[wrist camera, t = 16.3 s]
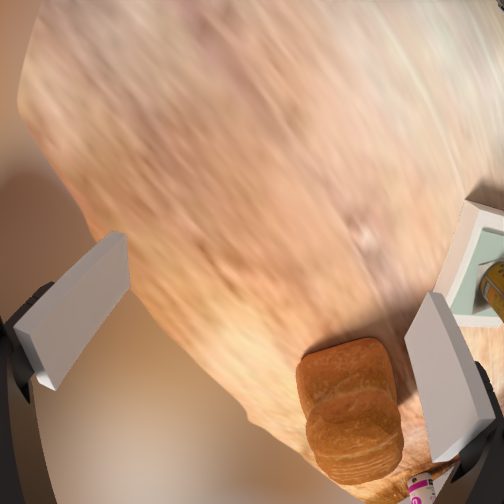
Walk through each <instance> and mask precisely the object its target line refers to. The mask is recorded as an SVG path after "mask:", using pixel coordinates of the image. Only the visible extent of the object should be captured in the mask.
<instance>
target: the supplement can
mask: <svg viewBox="0 0 504 504" xmlns="http://www.w3.org/2000/svg"><path fill="white" fill-rule="evenodd" d="M408 487H409V493H410V498H411V504H433V502H434V500H435V499H436V496H435V491H434V487H433V482H432V478H431V474H429V473H421V474H418V475H415V476H413V477H412V478H410V479H409V481H408Z"/></svg>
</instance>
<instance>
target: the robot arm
mask: <svg viewBox="0 0 504 504" xmlns="http://www.w3.org/2000/svg"><path fill="white" fill-rule="evenodd" d="M496 1H497V3H498V6H499V7H500V9H501V10H502V11H503V13H504V0H496ZM129 287H130V276H129V264H128V252H127V236H126V234H124V233H119V232H114V231H111V232H110V233H109V234H108V235H107V236H105V237H104V238H103V239H102V240H101V241H100V242H99V243H98V244H96V246H94V247H93V248H92V249H91V250H90V251H89V252H88V253H86V254H85V255H84V256H83V257H82V258H81V259H80V260H79V261H78V262H77V263H76V264H75V265H74V266H72V267H71V268H70V269H69V270H68V271H67V272H66V273H65V274H64V275H63V276H62V277H61V278H60V279H59V280H58V281H57V282H56V283H55V282H52V281H51V282H50V283H48V284H46V285H44V286H42V287H40V288H39V289H38V290H37V291H36V292H35V293H34V294H33V296H32V297H30V298H29V299H28V300H27V301H26V303H25V304H23V305H22V306H21V307H20V308H19V309H18V310H17V311H16V312H15V313H14V314H13V315H12V316H11V317H10V319H9V320H8V321H7V322H6V323H5V324H3V321H2V319H1V316H0V504H57V502H56V499H55V495H54V492H53V489H52V485H51V482H50V478H49V474H48V471H47V466H46V462H45V458H44V454H43V449H42V444H41V439H40V434H39V429H38V423H37V417H36V410H35V404H34V395H33V387H32V383H31V380H30V378H31V376H32V375H33V373H35V375H36V377H37V379H38V381H39V383H41V384H43V385H45V386H47V387H49V388H51V389H53V390H55V391H56V389H57V388H58V386H59V385H60V383H61V382H62V380H63V378H64V377H65V376H66V374H67V373H68V371H69V370H70V368H71V367H72V365H73V364H74V362H75V361H76V359H77V358H78V357H79V355H80V354H81V352H82V351H83V350H84V348H85V347H86V345H87V344H88V342H89V341H90V340H91V338H92V337H93V336H94V334H95V333H96V331H97V330H98V328H99V327H100V326H101V325H102V323H103V322H104V320H105V319H106V318H107V316H108V315H109V314H110V312H111V311H112V310H113V308H114V307H115V306H116V304H117V303H118V302H119V300H120V299H121V298H122V296H123V295H124V294H125V293H126V291H127V290H128V289H129ZM404 339H405V343H406V346H407V350H408V353H409V357H410V361H411V364H412V368H413V372H414V376H415V380H416V384H417V388H418V392H419V397H420V401H421V405H422V410H423V415H424V419H425V424H426V429H427V434H428V440H429V445H430V451H431V457H432V463H433V462H444V461H449V460H451V459H452V458H453V457H454V456H456V455H457V454H458V453H459V456H460V460H459V461H458V462H457V463H455V464H454V465H453V466H452V467H450V468H449V469H448V470H446V472H445V473H444V474H443V475H446V474H448V473H449V472H451V473H450V475H449V477H448V479H447V480H446V482H445V484H444V486H443V487H442V490H441V491H440V492H439V494H438V496H437V497H436V499H435V500H434V502H433V504H504V417H503V414H502V411H501V409H500V406H499V403H498V400H497V398H496V395H495V393H494V392H493V388H492V385H491V383H490V380H489V378H488V375H487V373H486V371H485V369H484V368H483V367H482V366H481V364H480V363H479V362H478V361H474V360H473V357H472V355H471V353H470V350H469V348H468V346H467V344H466V341H465V339H464V337H463V335H462V333H461V331H460V329H459V326H458V324H457V322H456V320H455V318H454V316H453V314H452V312H451V310H450V308H449V306H448V304H447V302H446V300H445V298H444V297H443V295H442V293H436V292H431V291H428V292H427V294H426V296H425V298H424V300H423V302H422V304H421V306H420V308H419V310H418V312H417V314H416V316H415V318H414V320H413V322H412V324H411V326H410V328H409V330H408V332H407V334H406V335H405V337H404Z"/></svg>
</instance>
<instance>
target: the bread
mask: <svg viewBox="0 0 504 504" xmlns="http://www.w3.org/2000/svg"><path fill="white" fill-rule="evenodd" d="M296 382H297V389H298V394H299V398H300V403H301V406H302V409H303V412H304V414H305V417H306V419H307V423H306V436H307V439H308V443H309V445H310V447H311V449H312V451H313V452H314V455H315V459H316V462H317V464H318V466H319V467H320V468H321V469H322V470H323V471H324V472H325V473H326V474H328V476H329V477H330V478H331V479H332V480H334V481H335V482H337V483H339V484H342V485H356V484H361V483H365V482H369V481H373V480H377V479H381V478H383V477H385V476H387V475H388V474H390V473H391V472H393V471H394V470H395V469H396V467H397V466H398V464H399V463H400V461H401V459H402V451H403V447H404V438H403V433H402V429H401V416H400V413H399V410H398V406H397V394H396V387H395V380H394V375H393V370H392V365H391V361H390V358H389V355H388V352H387V350H386V349H385V347H384V346H383V344H382V343H381V342H379V341H378V340H376V339H375V338H363V339H359V340H355V341H351V342H347V343H343V344H340V345H337V346H334V347H331V348H328V349H325V350H321V351H318V352H315V353H312V354H309V355H307V356H306V357H304V359H303V360H302V361H301V362H300V363H299V364H298V366H297V369H296Z"/></svg>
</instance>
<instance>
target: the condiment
mask: <svg viewBox="0 0 504 504" xmlns="http://www.w3.org/2000/svg"><path fill="white" fill-rule="evenodd" d="M490 308H493V310H494V311H495V312H496V314H497V315H498V316H499V317H500V319H501V320H502V321H503V323H504V258H503V259H500V260H497V261H493V262H490V263H487V264H484V265H480V266H478V274H477V281H476V288H475V298H474V303H473V311H472V315H474V314H476V313H478V312H481V311H484V310H486V309H490Z"/></svg>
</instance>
